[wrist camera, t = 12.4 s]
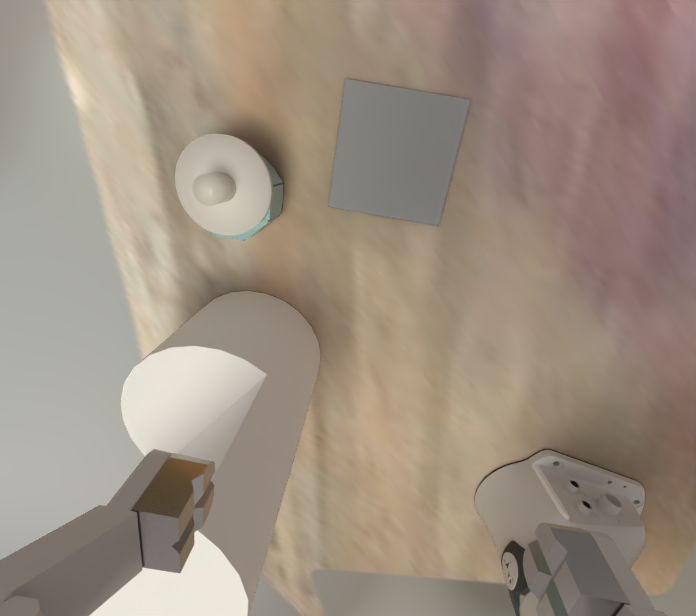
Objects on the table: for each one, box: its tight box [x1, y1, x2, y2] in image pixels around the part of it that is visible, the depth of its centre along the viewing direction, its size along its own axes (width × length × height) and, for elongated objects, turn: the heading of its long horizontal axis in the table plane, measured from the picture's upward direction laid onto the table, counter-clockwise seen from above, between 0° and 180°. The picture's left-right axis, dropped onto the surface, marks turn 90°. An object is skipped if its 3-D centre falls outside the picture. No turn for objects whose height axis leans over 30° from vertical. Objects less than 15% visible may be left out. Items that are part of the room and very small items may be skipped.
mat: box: [328, 78, 471, 226], centre depth 37 cm, size 12×12×1 cm
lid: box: [175, 134, 273, 236], centre depth 33 cm, size 9×9×4 cm
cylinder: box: [89, 291, 321, 616], centre depth 35 cm, size 17×17×28 cm
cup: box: [209, 155, 284, 241], centre depth 38 cm, size 8×8×5 cm
